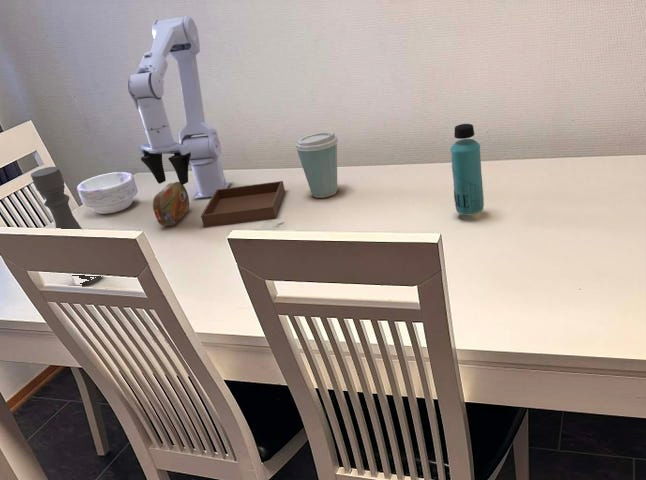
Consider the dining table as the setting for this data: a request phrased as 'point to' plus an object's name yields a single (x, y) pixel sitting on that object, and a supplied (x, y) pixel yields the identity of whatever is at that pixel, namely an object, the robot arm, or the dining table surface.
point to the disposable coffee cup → (319, 162)
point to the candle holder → (58, 203)
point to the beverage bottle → (467, 171)
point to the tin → (171, 204)
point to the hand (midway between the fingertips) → (173, 182)
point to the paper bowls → (108, 192)
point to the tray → (243, 204)
